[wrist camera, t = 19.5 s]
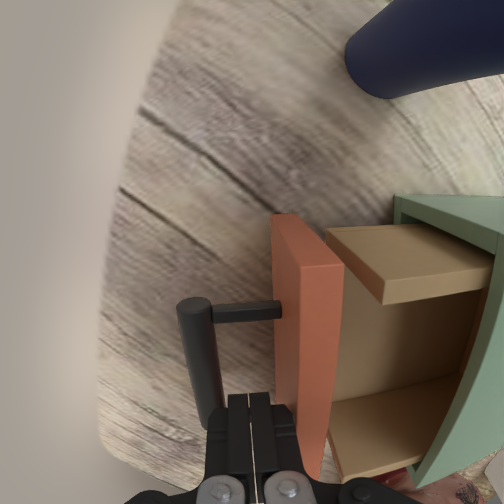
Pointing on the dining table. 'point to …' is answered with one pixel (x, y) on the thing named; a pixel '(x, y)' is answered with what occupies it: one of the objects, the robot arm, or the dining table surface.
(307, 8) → the dining table surface
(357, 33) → the blue cylinder
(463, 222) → the cabinet
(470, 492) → the decorative planter
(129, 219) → the dining table surface
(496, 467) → the canister
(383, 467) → the drawer
